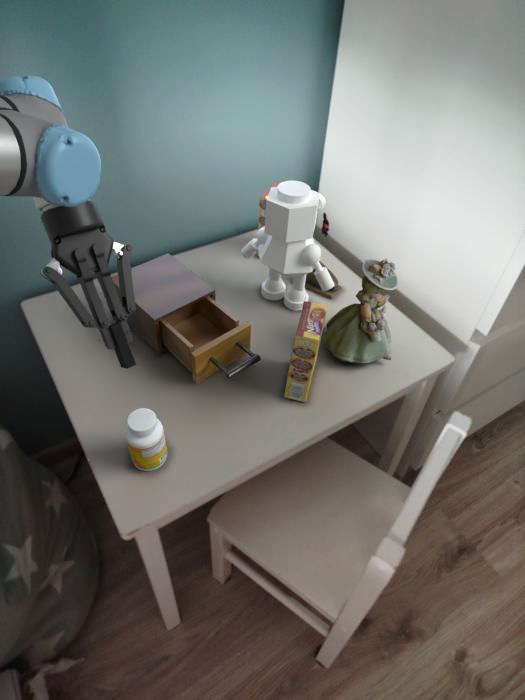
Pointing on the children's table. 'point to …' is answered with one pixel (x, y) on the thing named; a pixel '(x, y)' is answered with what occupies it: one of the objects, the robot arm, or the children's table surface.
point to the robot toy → (290, 243)
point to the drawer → (207, 339)
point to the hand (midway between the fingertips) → (128, 365)
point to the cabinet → (162, 295)
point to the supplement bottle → (146, 439)
